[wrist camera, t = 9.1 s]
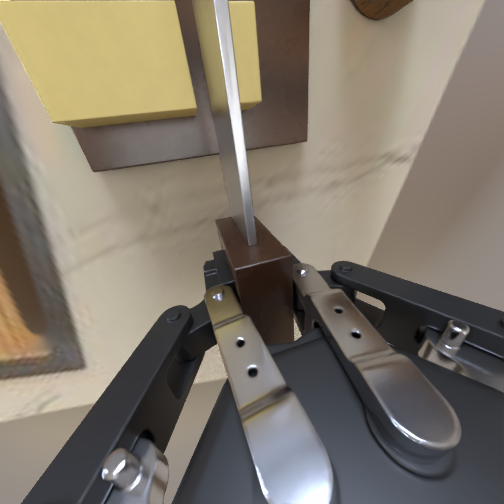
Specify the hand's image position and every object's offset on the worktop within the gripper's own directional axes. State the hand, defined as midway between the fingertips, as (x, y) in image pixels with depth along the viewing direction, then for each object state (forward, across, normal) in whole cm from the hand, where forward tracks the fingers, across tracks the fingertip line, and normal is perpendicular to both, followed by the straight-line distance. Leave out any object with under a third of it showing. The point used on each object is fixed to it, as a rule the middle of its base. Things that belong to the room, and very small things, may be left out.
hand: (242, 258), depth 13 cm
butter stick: (+6, +4, -10) cm, 13 cm away
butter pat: (+6, -2, -10) cm, 12 cm away
